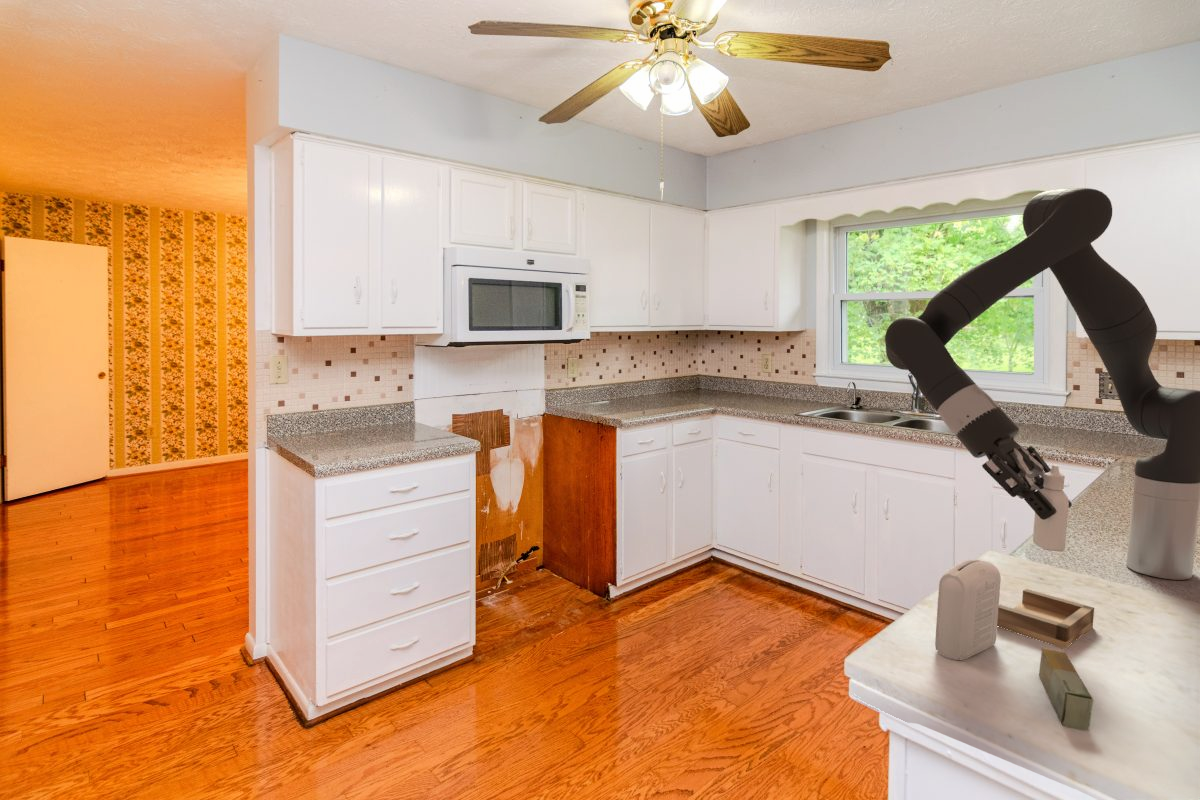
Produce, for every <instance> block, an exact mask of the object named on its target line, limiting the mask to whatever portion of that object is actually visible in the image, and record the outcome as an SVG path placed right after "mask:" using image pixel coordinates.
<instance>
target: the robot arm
mask: <svg viewBox="0 0 1200 800" xmlns="http://www.w3.org/2000/svg"><path fill="white" fill-rule="evenodd" d="M1112 218H1113V204H1112V201H1111V199H1110V198H1109V197H1108V195H1107V194H1105V193H1104V192H1103V191H1100V190H1098V189H1094V188H1088V187H1074V188H1062V189H1052V190H1047V191H1043V192H1039V193H1038V194H1036V195H1035V196H1033V197H1032V198H1031V199H1030V200H1029V201H1028V202H1027V204H1026V205H1025V208H1024V209H1023V214H1022V227H1023V230H1024V233H1025V236H1026V237H1025V238H1024V239H1022V240H1020V241H1019V242H1018V243H1016V244H1014V245H1013V246H1011V247H1009V248H1008V249H1006V250H1004V251H1002V252H1001V253H998V254H997V255H995V256H992V257H990V258H989V259H987V260H985V261H983V262H981V263H979V264H976V265H975V266H973V267H971V268H970V269H967V271H965V272H963V273H961V275H959V276H958V277H957V278H955V279H954V280H953V281H952V282H950V283H949V284H948V285H946V286H945V287H944V288H943V289H941V290H940V291H939V292H938V293H936V294H935V295H934V296H933V297H932V298H930V300H929V301H928V303H927V305H926V307H925V308H924V311H923V312H922V313H921V314H920V315H919V316H918V317H914V316H903V317H899V318H897V319H895V320H894V321H892V322H891V323H890V324H889V326H888V327H887V329H886V332H885V335H884V342H885V352H886V353H885V354H886V357H887V359H888V361H889V363H890V364H891V365H892V366H893V367H895V368H897V369H899V370H905V371H908V372H909V373H910V374H911V375H912V377H913V378H914V380H915V382H916V385H917V387H918V389H919V392H920V393H921V394H922V396H923V397H924V398H925V399H926V401H927V402H928V403H929V404H930V405H931V406H932V407H933V408H934V410H935V411H936V412H937V413H938V414H939V416H940V417H941V420H942V421H943V423H944V424H945V425H946V427H947V428H948V429H949V430H950V431H951V433H953V434H954V435H955V437H956V438H957V439H958V440H959V441H960V442H961V444H962V445H963V446H964V447H965V449H967V451H968V453H970V454H971V455H972V456H973V458H975V459H980V458H983V457H985V456H986V458H987V461H986V462H985V463H982V465H981V467H982V468H983V470H984V471H985V472H986V474H987V473H988V475H989V476H990V477H991V478H992V479H994V481H995V482H996V483H997V484H999V486H1000V487H1001V488H1003V490H1004V491H1006V493H1007V494H1008V495H1009V496H1011V497H1012V498H1016V497H1018V498H1019V499H1021V500H1023V499H1024V501H1025V503H1027V505H1028V506H1029V507H1030V509H1032V510H1033V511H1034V513H1035V512H1036V514H1037V515H1038V516H1039V517H1040V518H1041V519H1043V520H1045V519H1047V518H1049V517H1051V516H1052V515H1054V514H1056V509H1055V508H1054V507H1053V506H1052V504H1051V503H1050V502H1049V501H1048V500H1047V499H1046V498H1045V497H1044V495H1043V494H1042V493H1041V492H1040V491H1039V490H1040V489H1043V488H1044V487H1043V484H1044V474H1045V473H1048V472H1050V471H1051V468H1050V466H1049V465H1048V464H1047V462H1046V461H1045V460H1044V459H1043V457H1041V454H1039V453H1038V452H1037V450H1036V448H1035V447H1034V446H1031V445H1030V446H1028V447H1027V448H1025V447H1024V446H1022V445H1020V443H1018V442H1017V441H1015V439H1014V438H1015V437H1016V436H1017V435H1018V433H1019V431H1020V428H1019V426H1018V425H1017V424H1016V423H1015V422H1014V421H1013V420H1012V418H1010V416H1008V414H1006V413H1005V411H1004V410H1003V409H1002V408H1001V407H1000V406H999V405H998V404H997V402H996V401H995V400H994V399H993V398H992V397H991V396H990V395H989V394H988V393H987V392H985V390H983V389H982V388H981V387H980V386H978V384H977V383H976V382H975V380H973V379H972V378H971V377H970V376H969V374H967V373H966V371H965V370H963V368H962V367H960V366H959V364H958V363H956V361H955V360H954V358H953V357H952V355H951V354H950V351H948V349H947V347H946V345H947V344H948V343H949V342H950V341H951V340H952V338H953V337H954V336H956V334H957V333H959V331H961V330H963V329H964V328H965V327H967V326H968V325H969V324H971V323H973V321H974V320H976V319H977V318H979V316H981V315H982V314H983V313H984V312H986V311H987V310H988V309H990V308H991V307H992V306H993V305H995V304H996V303H998V302H999V301H1000V300H1002V299H1003V298H1004V297H1005V296H1006V295H1009V294H1010V293H1011V292H1013V291H1014V290H1016V289H1018V287H1020V286H1021V285H1023V284H1025V283H1026V282H1027V281H1030V280H1031V279H1032V278H1034V277H1035V276H1037V275H1038V274H1041V273H1042V272H1044V271H1045V270H1047V269H1049V270H1050V271H1051V272H1052V274H1053V275H1054V277H1055V278H1056V280H1057V282H1058V284H1059V285H1060V287H1061V289H1062V291H1063V293H1064V295H1065V296H1066V299H1067V300H1068V302H1069V303H1070V305H1071V306H1072V308H1073V311H1074V312H1075V315H1076V316H1077V318H1078V319H1079V322H1080V324H1081V326H1082V328H1083V329H1084V331H1085V333H1086V335H1087V337H1088V338H1089V341H1090V342H1091V344H1092V345H1093V346H1094V347H1093V348H1095V350H1096V352H1097V353H1098V355H1099V357H1100V359H1101V361H1102V364H1103V365H1104V367H1105V370H1106V371H1107V373H1108V375H1109V377H1110V379H1111V381H1112V383H1113V386H1114V387H1115V392H1116V393H1117V396H1118V399H1119V401H1120V404H1121V407H1122V409H1123V411H1124V414H1125V416H1126V419H1127V421H1128V422H1129V425H1130V426H1131V427H1132V428H1133V430H1134V431H1136V432H1137V433H1139V434H1140V435H1142V436H1145V437H1149V438H1153V439H1160V440H1161V439H1162V440H1166V444H1165V449H1164V450H1163V452H1162V453H1159V454H1157V455H1154V456H1153V455H1152V456H1146V457H1145V456H1144V457H1141V458H1140V457H1139V458H1138V459H1137V460H1136V462H1135V466H1134V475H1133V476H1134V477H1133V486H1132V487H1133V488H1132V498H1131V509H1130V520H1129V521H1130V522H1129V529H1128V531H1129V532H1128V540H1127V541H1128V542H1127V552H1126V566H1127V568H1128V569H1130V570H1132V571H1134V572H1136V573H1138V574H1143V575H1147V576H1151V577H1155V578H1159V579H1167V580H1177V581H1178V580H1179V581H1180V580H1181V581H1182V580H1190V579H1192V577H1193V573H1194V571H1193V570H1194V562H1195V553H1196V545H1197V536H1198V535H1197V534H1198V526H1199V525H1198V524H1199V515H1200V390H1197V389H1188V388H1177V387H1176V388H1175V387H1165V386H1163V385H1161V384H1160V383H1159V382H1158V380H1157V379H1156V378H1155V376H1154V374H1153V371H1152V370H1151V367H1150V365H1149V360H1150V355H1151V352H1152V350H1153V348H1154V345H1155V342H1156V339H1157V334H1158V333H1157V332H1158V327H1157V326H1158V325H1157V323H1156V320H1155V317H1154V315H1153V313H1152V311H1151V310H1150V307H1149V305H1148V303H1147V302H1146V299H1145V298H1144V296H1143V295H1142V294H1141V293H1140V291H1139V290H1138V289H1137V287H1136V286H1135V285H1134V284H1133V283H1131V281H1130V280H1128V279H1127V278H1126V276H1124V275H1123V274H1122V273H1120V272H1119V271H1118V270H1117V269H1115V268H1114V267H1113V266H1112V265H1110V264H1109V263H1108V262H1107V261H1106V260H1104V258H1102V257H1101V256H1100V254H1099V253H1098V252H1097V251H1096V249H1095V248H1094V246H1093V245H1092V243H1093V242H1095V241H1096V240H1097V239H1099V238H1100V237H1101V236H1102V235H1103V234H1104V233H1105V232H1106V230H1107V229H1108V227H1109V226H1110V224H1111V221H1112ZM1072 505H1073V504H1072V502H1071V501H1070V500H1069V507H1068V509H1070V508H1072Z"/></svg>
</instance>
